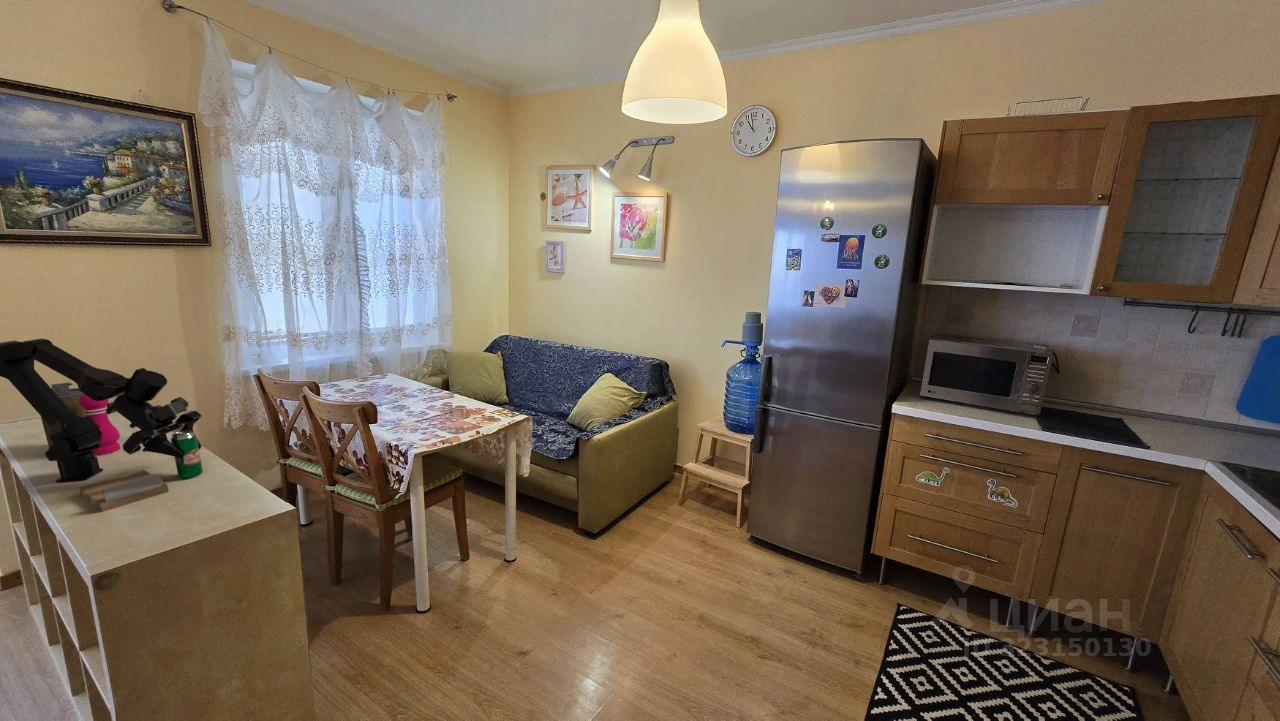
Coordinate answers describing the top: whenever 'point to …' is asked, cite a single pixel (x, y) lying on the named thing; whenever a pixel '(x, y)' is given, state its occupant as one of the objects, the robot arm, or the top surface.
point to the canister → (69, 399)
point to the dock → (123, 489)
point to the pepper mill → (101, 424)
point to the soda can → (187, 454)
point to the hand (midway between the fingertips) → (191, 452)
